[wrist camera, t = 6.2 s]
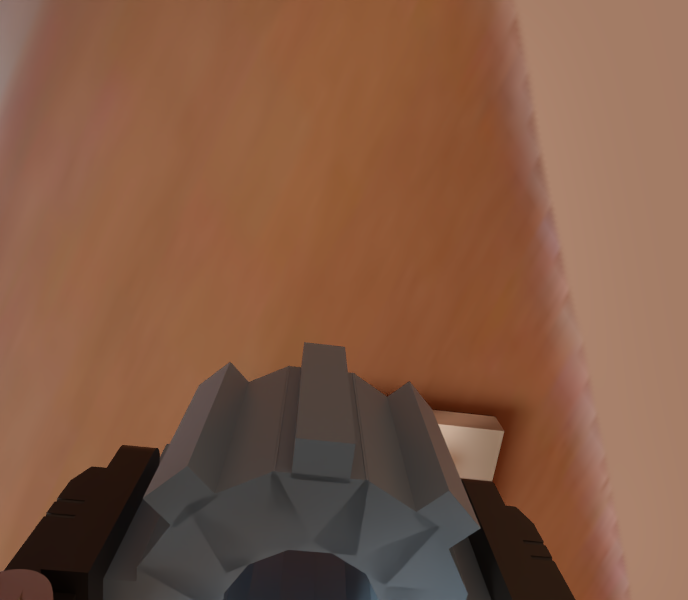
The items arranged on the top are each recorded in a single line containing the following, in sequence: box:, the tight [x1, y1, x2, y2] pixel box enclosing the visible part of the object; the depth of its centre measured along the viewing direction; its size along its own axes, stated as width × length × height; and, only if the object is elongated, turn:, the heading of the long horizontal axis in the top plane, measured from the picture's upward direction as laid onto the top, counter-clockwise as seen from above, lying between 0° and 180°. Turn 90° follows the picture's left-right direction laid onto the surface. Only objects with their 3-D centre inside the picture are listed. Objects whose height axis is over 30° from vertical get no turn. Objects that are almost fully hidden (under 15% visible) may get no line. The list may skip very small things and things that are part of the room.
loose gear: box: [103, 342, 491, 600], centre depth 11 cm, size 7×7×4 cm
